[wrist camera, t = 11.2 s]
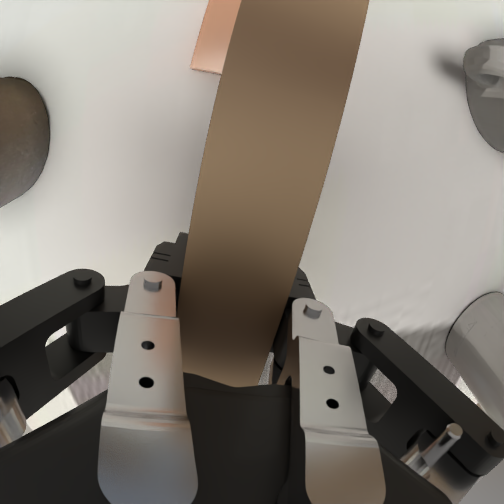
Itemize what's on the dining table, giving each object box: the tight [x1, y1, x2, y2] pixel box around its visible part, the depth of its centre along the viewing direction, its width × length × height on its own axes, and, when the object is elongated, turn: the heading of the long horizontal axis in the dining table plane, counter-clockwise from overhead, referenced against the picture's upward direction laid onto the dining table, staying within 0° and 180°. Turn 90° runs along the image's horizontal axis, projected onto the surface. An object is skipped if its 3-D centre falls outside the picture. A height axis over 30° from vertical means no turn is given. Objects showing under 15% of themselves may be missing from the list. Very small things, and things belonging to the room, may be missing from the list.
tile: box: [190, 0, 241, 74], centre depth 16 cm, size 8×2×10 cm
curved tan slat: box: [176, 0, 369, 387], centre depth 12 cm, size 22×3×6 cm, turn 167°
